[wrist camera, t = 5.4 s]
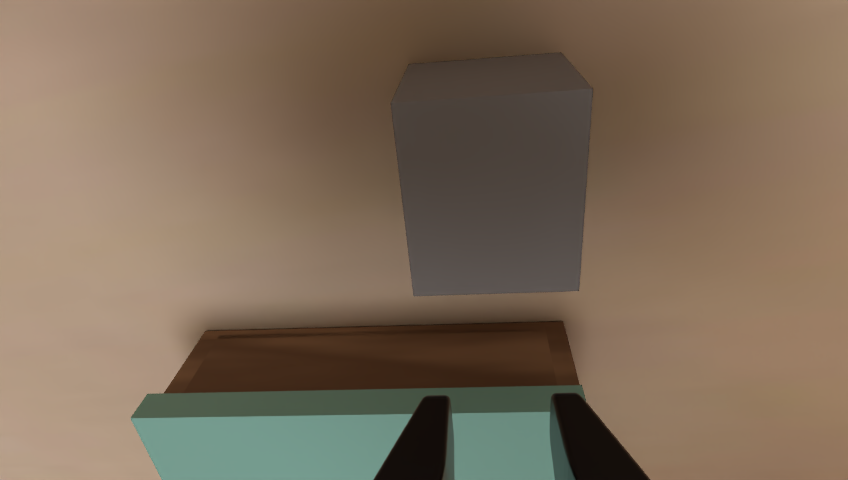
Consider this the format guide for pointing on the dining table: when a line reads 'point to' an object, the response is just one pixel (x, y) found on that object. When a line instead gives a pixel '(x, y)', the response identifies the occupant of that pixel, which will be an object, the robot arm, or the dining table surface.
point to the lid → (342, 432)
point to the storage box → (379, 358)
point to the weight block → (493, 173)
